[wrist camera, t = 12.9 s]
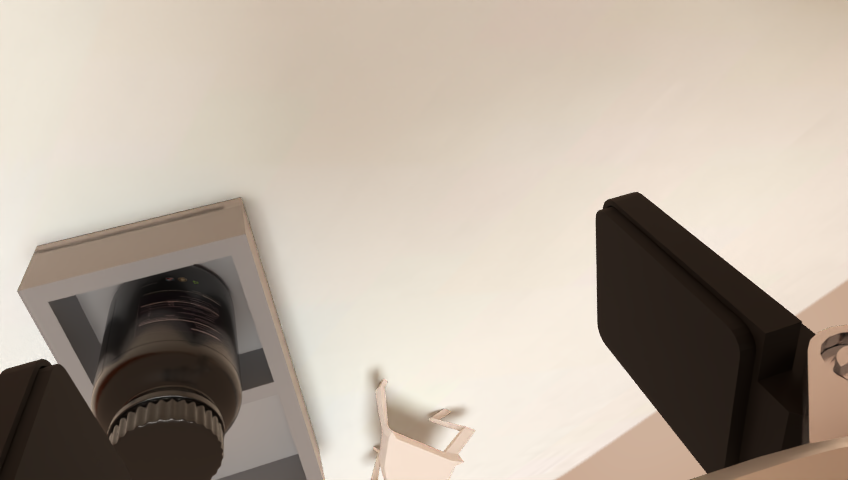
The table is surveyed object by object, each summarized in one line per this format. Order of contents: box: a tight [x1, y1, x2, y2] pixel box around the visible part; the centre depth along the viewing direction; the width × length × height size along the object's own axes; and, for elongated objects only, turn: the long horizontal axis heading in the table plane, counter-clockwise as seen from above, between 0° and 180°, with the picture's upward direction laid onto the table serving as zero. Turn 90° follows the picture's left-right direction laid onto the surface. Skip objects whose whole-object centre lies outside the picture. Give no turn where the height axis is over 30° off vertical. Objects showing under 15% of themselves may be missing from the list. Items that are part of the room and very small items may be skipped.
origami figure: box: [371, 379, 475, 480], centre depth 47 cm, size 12×8×5 cm
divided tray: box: [17, 198, 325, 480], centre depth 39 cm, size 11×21×4 cm, turn 7°
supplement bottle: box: [91, 265, 242, 480], centre depth 33 cm, size 7×7×12 cm
